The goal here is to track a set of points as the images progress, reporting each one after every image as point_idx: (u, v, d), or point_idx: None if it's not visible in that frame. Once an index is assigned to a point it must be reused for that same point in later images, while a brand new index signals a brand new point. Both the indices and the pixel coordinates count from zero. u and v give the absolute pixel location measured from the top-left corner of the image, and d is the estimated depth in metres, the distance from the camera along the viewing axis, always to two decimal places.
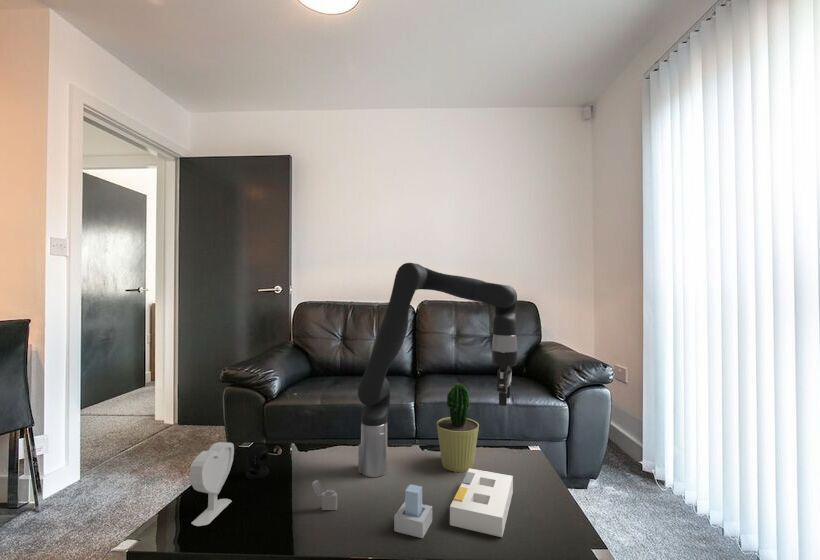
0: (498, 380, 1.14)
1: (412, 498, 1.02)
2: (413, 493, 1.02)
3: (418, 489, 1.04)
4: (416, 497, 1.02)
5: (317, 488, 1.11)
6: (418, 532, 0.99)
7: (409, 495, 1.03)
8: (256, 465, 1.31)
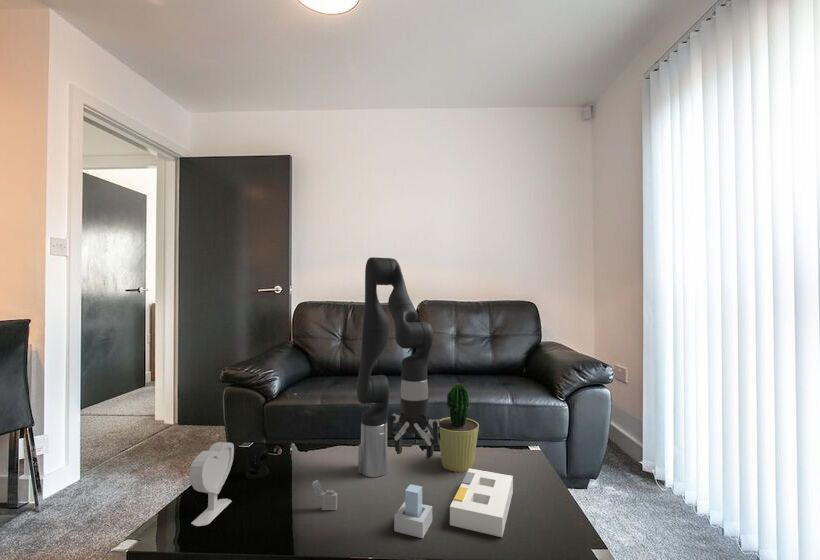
0: (437, 430, 1.01)
1: (412, 498, 1.02)
2: (413, 493, 1.02)
3: (418, 489, 1.04)
4: (416, 497, 1.02)
5: (317, 488, 1.11)
6: (418, 532, 0.99)
7: (409, 495, 1.03)
8: (256, 465, 1.31)
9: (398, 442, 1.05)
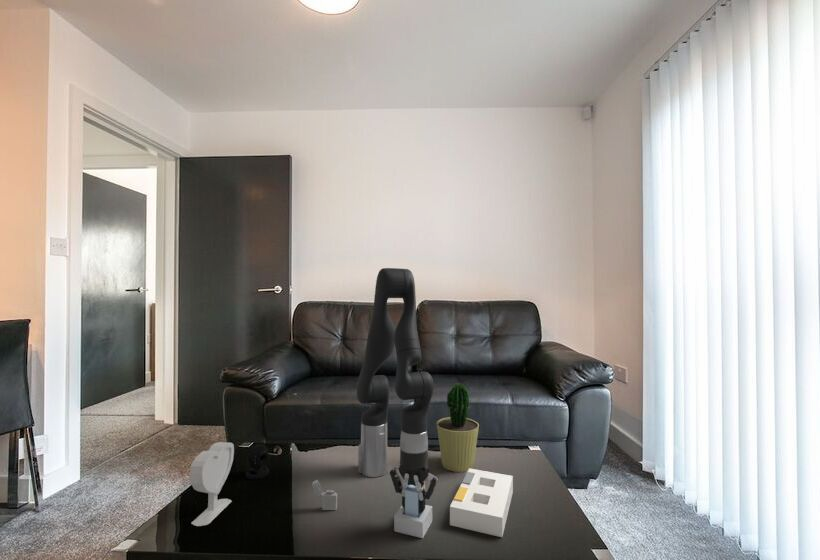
0: (433, 488, 1.01)
1: (412, 498, 1.02)
2: (413, 493, 1.02)
3: None
4: (416, 497, 1.02)
5: (317, 488, 1.11)
6: (418, 532, 0.99)
7: (409, 495, 1.03)
8: (256, 465, 1.31)
9: None
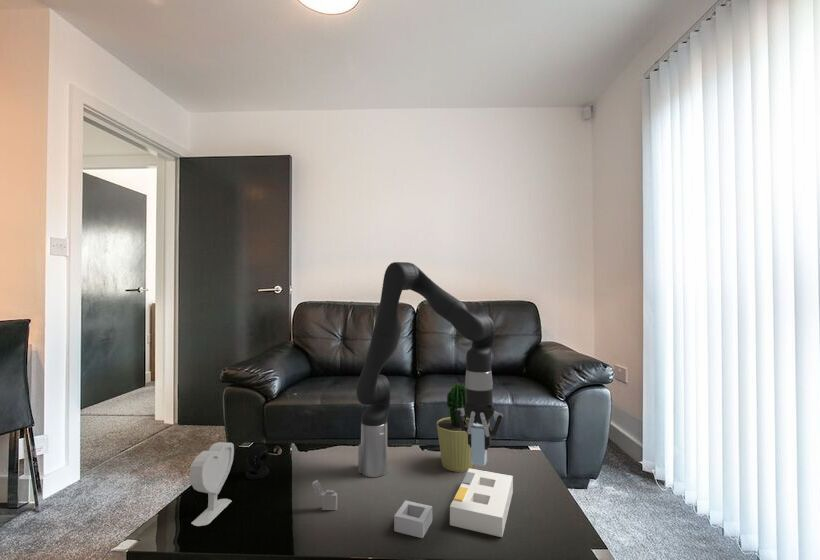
0: (499, 424, 1.06)
1: (478, 434, 1.07)
2: (479, 430, 1.07)
3: None
4: (483, 433, 1.06)
5: (317, 488, 1.11)
6: (418, 532, 0.99)
7: (476, 432, 1.07)
8: (256, 465, 1.31)
9: None
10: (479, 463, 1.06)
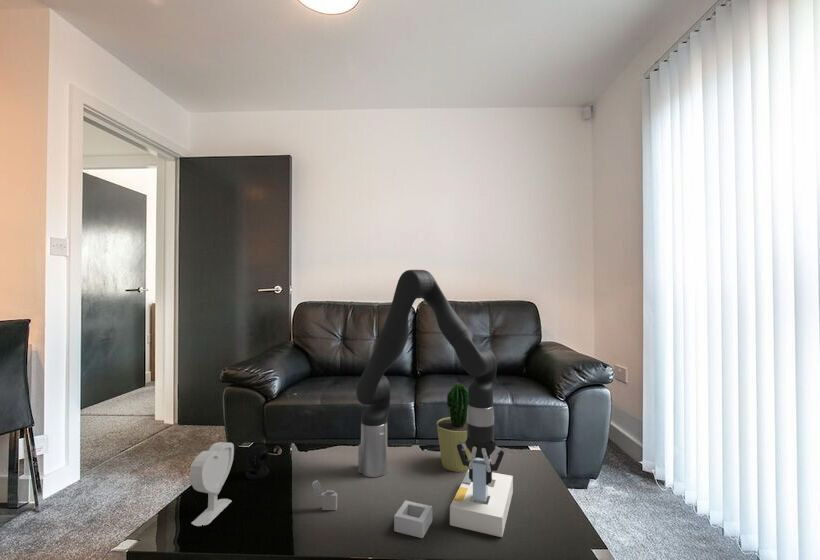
0: None
1: (480, 470, 1.07)
2: (480, 465, 1.07)
3: None
4: (484, 469, 1.07)
5: (317, 488, 1.11)
6: (418, 532, 0.99)
7: (477, 467, 1.07)
8: (256, 465, 1.31)
9: (472, 470, 1.09)
10: (480, 498, 1.07)
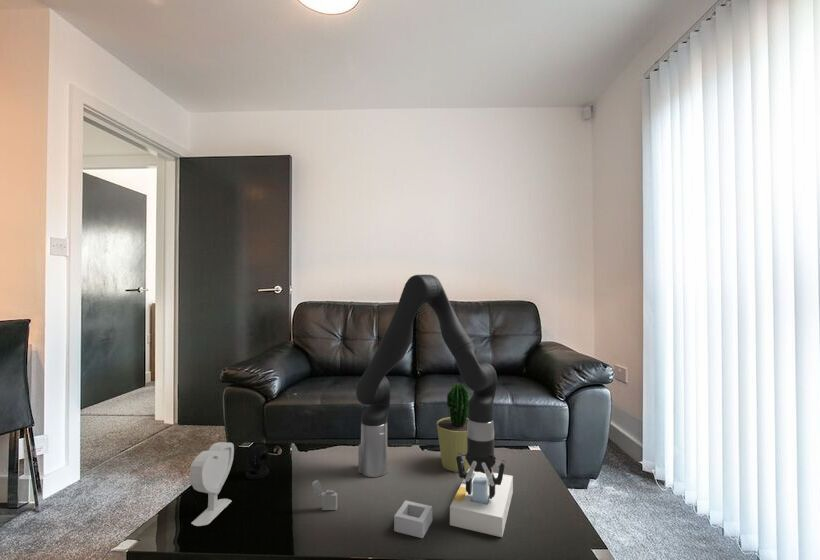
0: None
1: (479, 490, 1.07)
2: (480, 486, 1.07)
3: (484, 481, 1.08)
4: (484, 489, 1.06)
5: (317, 488, 1.11)
6: (418, 532, 0.99)
7: (477, 487, 1.07)
8: (256, 465, 1.31)
9: (469, 483, 1.09)
10: None
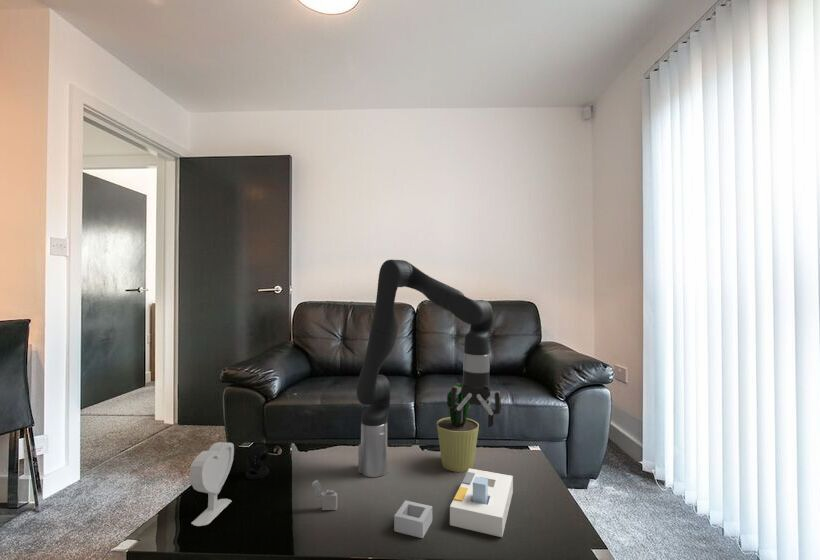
0: (499, 401, 1.08)
1: (480, 490, 1.07)
2: (480, 485, 1.07)
3: (485, 481, 1.08)
4: (484, 489, 1.07)
5: (317, 488, 1.11)
6: (418, 532, 0.99)
7: (477, 487, 1.07)
8: (256, 465, 1.31)
9: (460, 412, 1.12)
10: None
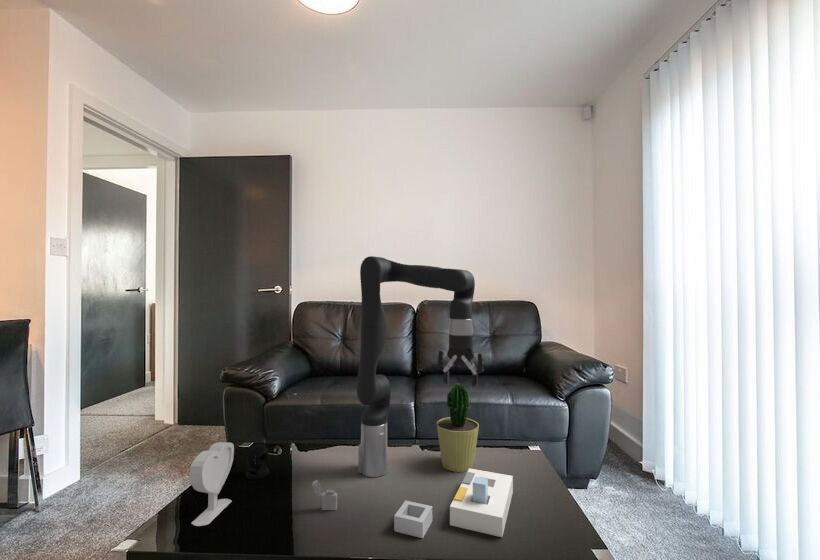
0: (482, 361, 1.17)
1: (480, 490, 1.07)
2: (480, 485, 1.07)
3: (485, 481, 1.08)
4: (484, 489, 1.07)
5: (317, 488, 1.11)
6: (418, 532, 0.99)
7: (477, 486, 1.07)
8: (256, 465, 1.31)
9: (446, 373, 1.21)
10: None
